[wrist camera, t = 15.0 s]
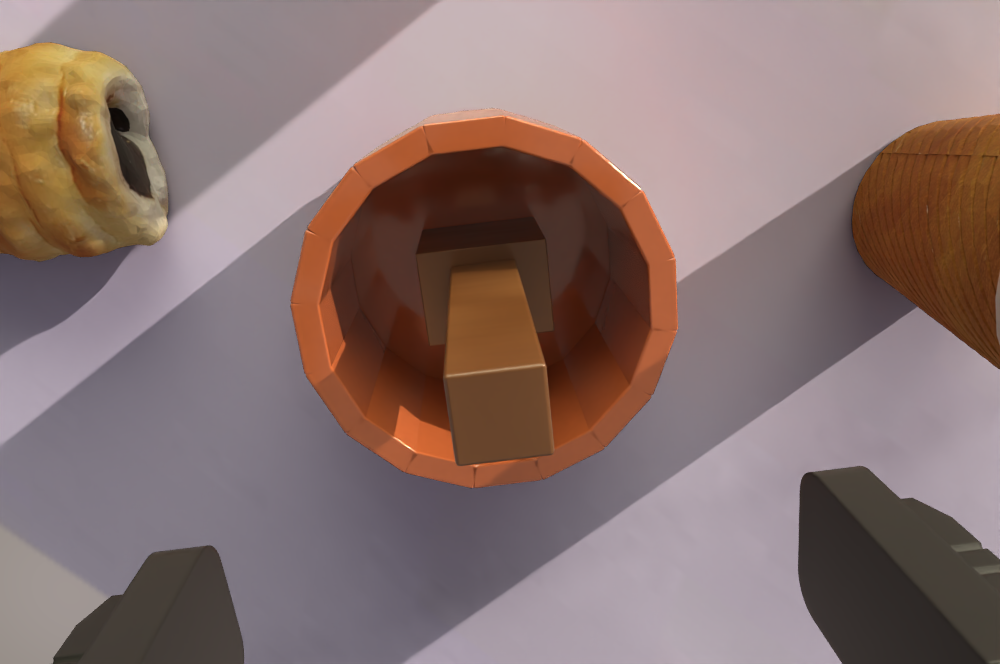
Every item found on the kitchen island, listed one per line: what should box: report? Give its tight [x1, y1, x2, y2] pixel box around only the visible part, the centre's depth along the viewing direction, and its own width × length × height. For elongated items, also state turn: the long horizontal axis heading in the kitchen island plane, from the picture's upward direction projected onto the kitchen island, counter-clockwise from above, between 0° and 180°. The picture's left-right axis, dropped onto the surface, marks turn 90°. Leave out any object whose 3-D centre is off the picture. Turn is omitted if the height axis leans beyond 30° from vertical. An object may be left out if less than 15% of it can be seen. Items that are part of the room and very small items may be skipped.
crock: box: [290, 108, 678, 488], centre depth 24 cm, size 11×11×7 cm
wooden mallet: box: [415, 217, 555, 466], centre depth 21 cm, size 4×3×13 cm
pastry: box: [0, 42, 168, 262], centre depth 24 cm, size 9×7×4 cm
